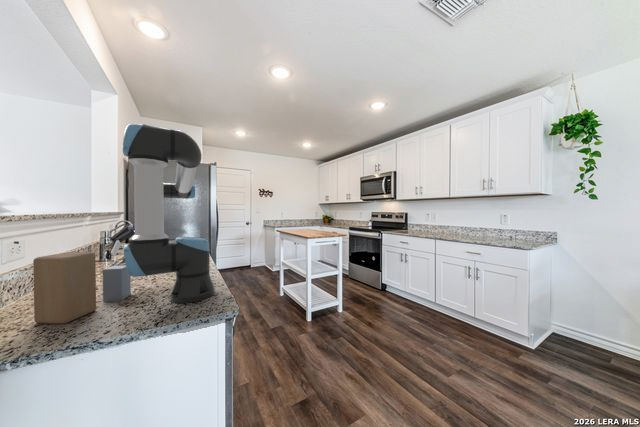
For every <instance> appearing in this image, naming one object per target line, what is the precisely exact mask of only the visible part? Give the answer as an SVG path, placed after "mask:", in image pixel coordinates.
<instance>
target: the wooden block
mask: <svg viewBox="0 0 640 427" xmlns="http://www.w3.org/2000/svg"><path fill="white" fill-rule="evenodd" d="M32 262H33V265H32V266H33V270H32V272H33V309H34V310H33V311H34V312H33V313H34V314H33V316H34V317H33V320H34V322H35V324H67V323H69V322H72V321H74V320H77V319H78V318H81V317H83V316H85V315H88V314H89V313H92V312H94V311H96V309H97V284H96V283H97V281H96V280H97V279H96V278H97V276H96V272H97V271H96V270H97V268H96V253H94V252H92V251H91V252H90V251H89V252H88V251H87V252H86V251H83V252H82V251H76V252H75V251H74V252H73V251H70V252H69V251H67V252H62V253H61V252H60V253H55V254H49V255H42V256H37V257H35V258H33V261H32Z"/></svg>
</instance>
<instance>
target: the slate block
mask: <svg viewBox="0 0 640 427" xmlns="http://www.w3.org/2000/svg"><path fill="white" fill-rule="evenodd" d="M131 287H132V286H131V276H130V275H129V274H128V271H127V268H126V264H124V265H123V264H121V265H111V266H109V267H106V268H103V269H102V302H115V301H123V300H124V299H126V298H127V297H129V296H131V295H132V294H131V289H132V288H131Z"/></svg>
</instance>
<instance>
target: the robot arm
mask: <svg viewBox="0 0 640 427" xmlns="http://www.w3.org/2000/svg"><path fill="white" fill-rule="evenodd" d="M201 151H202V150H201V149H200V146H199V144H198V143H197V142H196V140H195V139H193V138H192V137H191V135H190V134H187V133H186V132H184V131H181V130H178V129H172V128H165V127H160V126H155V125H151V124H150V125H148V124H145V123H144V124H142V123H141V124H140V123H129V124H128V125H126V127H125V130H124V136H123V141H122V154H123V156H124V157H127V158H128V162H129V163H130V164H131V165H132V166H133V167H134V168H133V174H134V175H133V176H134V179H133V181H134V224H130V223H126V224H125V226H124V227H123V228H122V229H120V230H119V231H117V232H116V233H115V234H113V235H112V236H111V237H110V238H109V239H110V241H111V243H112V245H111V248H112V249H111V250H110V255H112V257H116V256H117V254H118V252H119V250H120V248H121V246H122V242H124V241H126V240H128V241H129V242H128V243H126V244H124V245H123V259H124V262H125V263H124V265H126V268H127V271H128V274H129V275H130V277H133V278H136V277H137V278H139V277H148V276H155V275H156V276H157V275H163V274H169V273H175V281H174V284H173V287H172V289H171V293H170V300H171V302H173V303H178V304H186V303H195V302H200V301H203V300H206V299H208V298H210V297H213V295H214V294H215V286H214V283H213V280H212V278H211V275H210V251H211V250H210V243H209V240H208V239H206V238H201V237H192V236H178V237H176V238H175V240H173V241H172V240H171V241H170V237H169V235H167V234H166V233H165V212H164V211H165V208H164V205H165V199H186V200H187V199H195V198H196V185H194V181H195V176H196V171H197V167H199V166H200V165H201V162H202V158H203V157H202V156H203V155H202V152H201ZM169 161H172V162H174V161H175V162H176V171H175V172H176V173H175V181H174V183H168V182H166V183H165V182H164V169H165V168H166V167H168V165H169Z"/></svg>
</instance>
